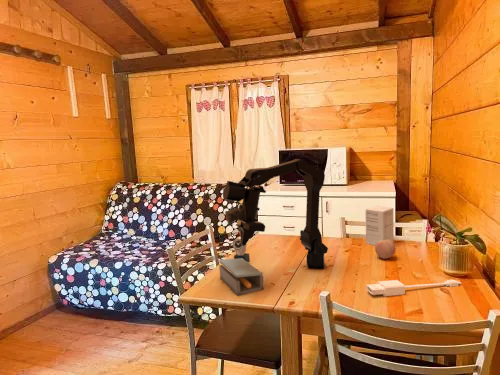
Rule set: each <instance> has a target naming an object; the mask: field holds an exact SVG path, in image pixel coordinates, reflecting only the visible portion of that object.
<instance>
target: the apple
mask: <svg viewBox="0 0 500 375" xmlns="http://www.w3.org/2000/svg"><path fill="white" fill-rule="evenodd" d="M374 251H375V253H376V255H377V256H378V257H379V258H381V259H382V260H385V259H388V258H391V257H393V256H395V253H396V245H395V243H393V242H392V241H391V240H388V239H387V240H381V241H378V242H377V243H376V244H375V245H374Z"/></svg>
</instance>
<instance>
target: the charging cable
mask: <svg viewBox="0 0 500 375" xmlns="http://www.w3.org/2000/svg"><path fill="white" fill-rule="evenodd" d="M461 284H462V282H460V281H458V280H455V279H446V280H445V281H443V282H437V283H435V282H434V283H426V284H425V283H424V284H412V285H411V284H410V285H405V284H404V283H402V282H401V281H400V280H398V279H393V280H392V279H391V280H378V281H377V283H373V284H366V285H365V286H366V288H365V289H366V291H367V292H369V293H370V294H371V295H372V296H376V295H382V296H383V297H391V296H392V297H393V296H403V295H405V294H406V289H411V288H423V287H426V288H427V287H437V286H438V287H439V286H445V287H450V288H452V287H459V285H461Z"/></svg>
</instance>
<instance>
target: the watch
mask: <svg viewBox="0 0 500 375" xmlns="http://www.w3.org/2000/svg"><path fill="white" fill-rule="evenodd" d="M247 243H248V242H247ZM247 243H246V245H245V246H243V245H241V236H238V237H236V238H235V239H234V241H233V242H232V246H233V250H234V252H235V254H234V255H233V259H239V258H243V259H244V260H245V261H247V262H248V263H249V262H250V253H247V252H246V251H247Z"/></svg>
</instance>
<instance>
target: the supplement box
mask: <svg viewBox="0 0 500 375" xmlns="http://www.w3.org/2000/svg"><path fill="white" fill-rule="evenodd" d="M394 232H395V231H394V207H388V206H386V207H385V206H380V205H375V206H371V207H369V208H365V244H367V245H372V246H375V244H376V243H377V242H378V241H381V240H387V239H388V240H391V241H392V242H393V243H394V239H395V238H394ZM394 244H395V243H394Z"/></svg>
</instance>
